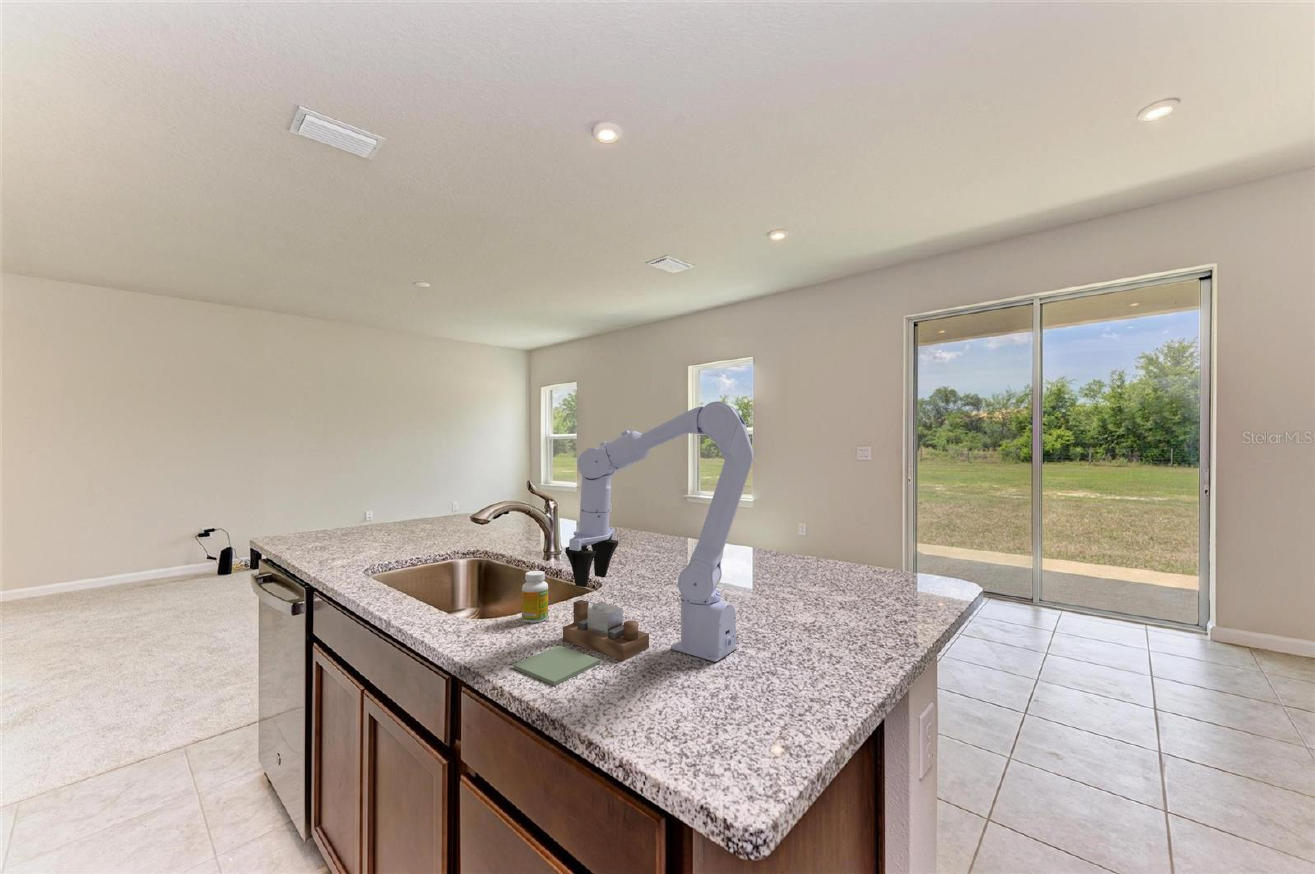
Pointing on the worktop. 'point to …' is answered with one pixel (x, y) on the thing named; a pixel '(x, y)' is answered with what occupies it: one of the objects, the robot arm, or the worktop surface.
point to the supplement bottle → (534, 597)
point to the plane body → (616, 645)
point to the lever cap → (604, 618)
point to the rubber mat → (556, 665)
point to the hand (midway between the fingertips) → (591, 581)
